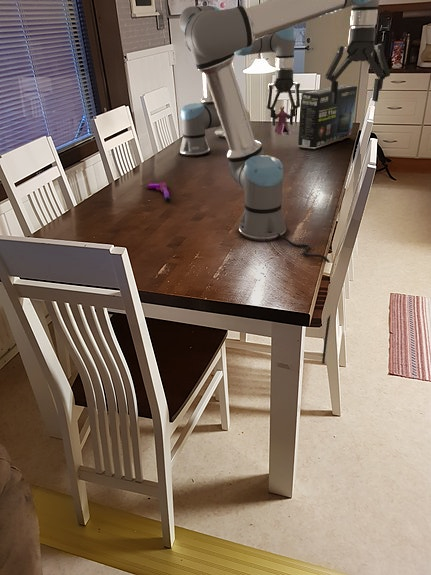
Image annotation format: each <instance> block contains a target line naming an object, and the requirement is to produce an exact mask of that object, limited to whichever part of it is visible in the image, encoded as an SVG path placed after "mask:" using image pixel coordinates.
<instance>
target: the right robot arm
mask: <svg viewBox="0 0 431 575" xmlns="http://www.w3.org/2000/svg"><path fill="white" fill-rule="evenodd" d="M379 5H380V0H266V1H264V2H261V3H257V4H254V5H252V6H249V7H246V6H245V5H243V4H241V5H238V6H235V7H232V8H227V9H226V8H225V9H219V10H202V11H198V12H197V13H195V14H194V15H193V16H191V17H190V19H189V20H188V22H187V24H186V26H185V31H184V32H183V36H184V43H185V45H186V47H187V48H188V50H189V52H190V53H191V55H192V58H193V61H194V64H195V66H196V69H197V71H198V72H201V74H202V73H204V74H205V77H206V80H207V83H208V86H209V89H210V92H211V95H212V98H213V101H214V104H215V107H216V110H217V113H218V116H219V119H220V122H221V129H223V131H224V134H225V137H224V138H225V139H226V142H227V146H228V151H227V152H226V158H227V160H228V163H229V164H228V166H229V172H230V175H231V177H232V179H233V181H235V182H236V183H237V185H239V186H240V187H241V188H242V189H243V191H244V211H243V213H242V216H241V220H240V221H239V220H237V226H238V232H239V235H240V236H241V237H242V238H244V239H247V240H250V241H254V242H271V241H277V240H279V239H282V240H284V241H286V242H287V243H288V244H289V245H291V246H293V247H296V248H298V247H299V248H303V247H304V248H305V249H304V250H303V252H302V253H303V255H304V256H305V257H310V258H313V257H314V258H321V259H323V260H324V261H325V262H326V263H330V260H329V259H328V257H326V256H325V255H323V254H318V253H307V252H308V251H309V250H310V249H311V247H310V245H308V244H306V243H305V244H304V243H301V244H298V243H294V242H292V241H291V240H290V239H288V238H287V237H285V235H286V234H287V223H286V221H285V216H284V214H283V210H282V200H283V183H284V168H283V167H284V166H283V163H282V161H281V160H280V159H279V158H277V157H275V156H271V155H265V153H264V149H263V146H262V143H261V142H260V141H259V140H257V139H256V138H255V136H254V132H253V129H252V125H251V122H250V120H249V116H248V112H247V110H246V107H245V106H246V105H245V103H244V99H243V96H242V92H241V90H240V86H239V83H238V79H237V76H236V73H235V72H236V71H235V69H234V66H233V60H234V59H235V56H236V54H235V53H234V52H236V51H239V50H241V49H244V48H246V47H249V46H251V45H252V44H253V42H254V40H256V39H259V38H262V37H264V36H267V35H270V34H273V33H276V32H279V31H281V30H284V29H287V28H290V27H295V26H297V25H301V24H305V23H307V22H309V21H313V20H316V19H318V18H321V17H324V16H326V15H329V14H333V13H336V12H338V11H340V10H344V9H347V8H350V7H351V16H350V26H351V27H350V29H349V32H348V34H349V35H348V42H347V43H348V44H347V46H344V45H338V46H337V48H336V54H335V56H334V57H333V60H332V62H331V64H330V65H329V67H328V68H327V71H326V73H325V75H324V78H325V79H326V80H328V81H329V84H330V85H329V87H330V92H332V103H333V104H336V100H337V90H338V85H339V81H338V79H339V78H340V76H341V75H342V74H343V73H344V71H345V70H346V69H347V68H348V67H349V65H350V64H352V63H353V62H355V63H356V62H367V63H368V65H369V66H370V68H371V70H372V71H373V72H374V74H375V76H376V77H377V78H374V83H373V84H374V85H373V92H372V99H371V101H373V102H376V103H378V102H379V101H378V100H379V94H380V91H381V90H382V89H383V84H384V80H385V79H386V78H387V77H390V76H391V72H390V69H389V65H388V63H387V59H386V54H385V52H384V51H385V45H384V44H383V43H378V44H375V38H376V30H377V29H376V27H375V26H376V25H377V23H378V22H377V21H378V14H379V13H378V12H379ZM373 52H375V53H376V56H377V58H378V61H379V62H378V63H379V65H380V67H381V68H380V67H379V66H378V63H377V62H376V60H375V59H374V57H373V55H372V54H373ZM345 53H347V56H346V57H345V58H344V60H343V61H342V63H341V64H340V65H339V63H340V61H341V60H342V57H343V55H344V54H345ZM338 65H339V67H338ZM337 67H338V68H337ZM330 321H331V315H328V317H327V320H326V327H325V334H324V335H325V336H324V341H323V342H324V343H323V350H322V360H321V363H322V365H324V364H325V363H326V362H325V361H326V353H327V345H328V338H329V330H330V323H331V322H330Z"/></svg>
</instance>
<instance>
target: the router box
mask: <svg viewBox="0 0 431 575" xmlns="http://www.w3.org/2000/svg"><path fill="white" fill-rule="evenodd" d="M357 93H358V86H356V85H350V84H338V90H337V100H336V104H333V103H332V92H330V86H328V87H324V88H318V89H314V90H309V91H304V92H301V93H300V109H299V110H300V111H299V124H298V137H297V146H298V145H302V146H307V147H317V146H320V145H323V144H325V143H328V142H331V141H333V140H336V139H338V138H341V137H344V136H347V135H351V136H352V133H353V132H352V131H353V125H354V115H355V109H356V99H357ZM311 151H313V150H312V149H311Z"/></svg>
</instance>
